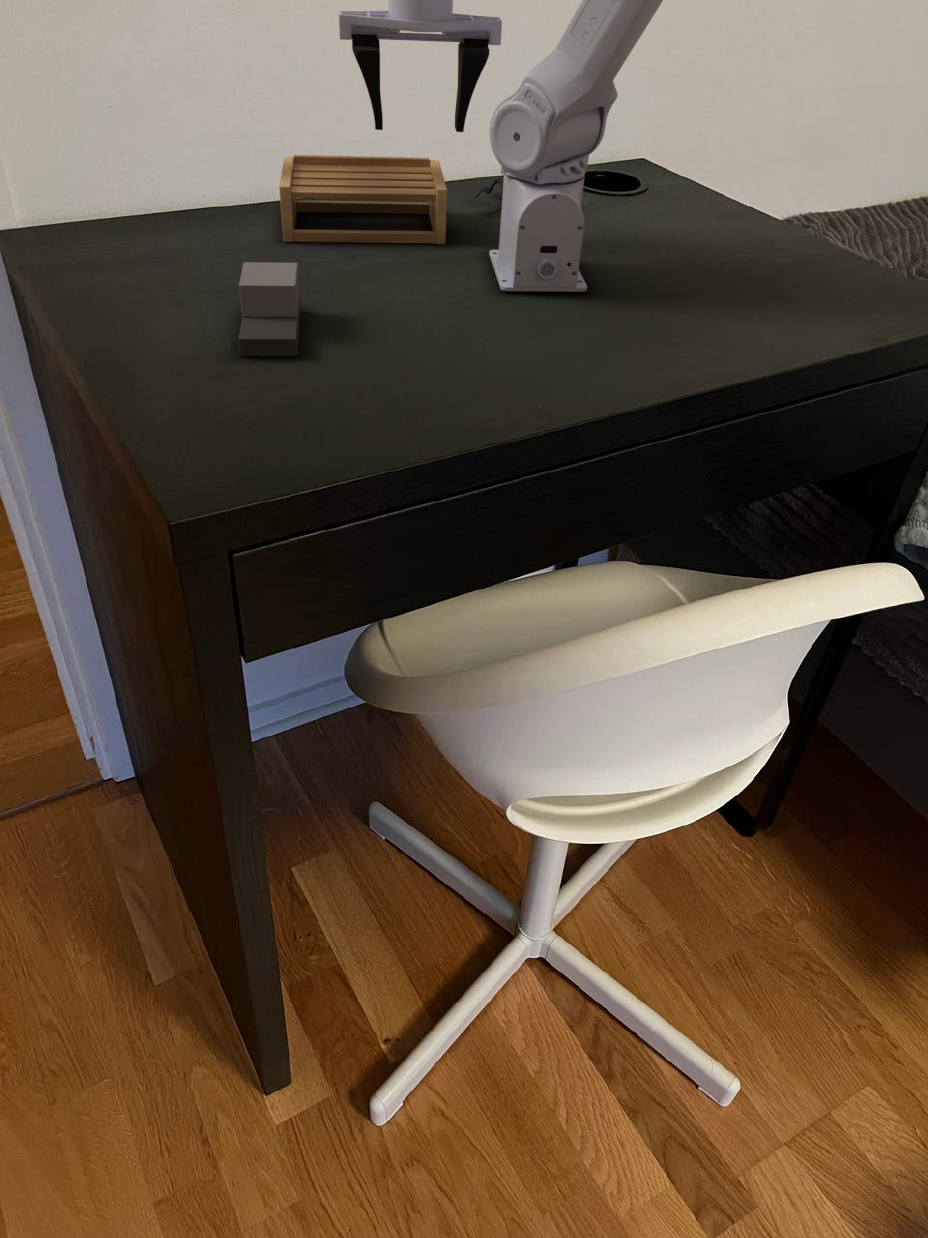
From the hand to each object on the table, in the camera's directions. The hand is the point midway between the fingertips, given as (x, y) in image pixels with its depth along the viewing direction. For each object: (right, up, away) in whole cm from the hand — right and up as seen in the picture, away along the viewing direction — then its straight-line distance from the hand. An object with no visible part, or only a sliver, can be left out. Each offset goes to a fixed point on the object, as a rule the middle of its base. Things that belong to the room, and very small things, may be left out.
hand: (419, 128), depth 91 cm
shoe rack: (-6, -6, +7) cm, 11 cm away
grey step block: (-11, -24, -13) cm, 29 cm away
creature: (+9, -2, +14) cm, 17 cm away
